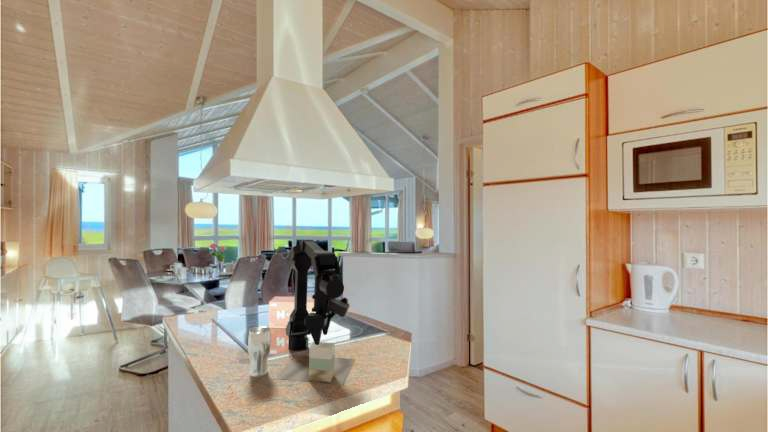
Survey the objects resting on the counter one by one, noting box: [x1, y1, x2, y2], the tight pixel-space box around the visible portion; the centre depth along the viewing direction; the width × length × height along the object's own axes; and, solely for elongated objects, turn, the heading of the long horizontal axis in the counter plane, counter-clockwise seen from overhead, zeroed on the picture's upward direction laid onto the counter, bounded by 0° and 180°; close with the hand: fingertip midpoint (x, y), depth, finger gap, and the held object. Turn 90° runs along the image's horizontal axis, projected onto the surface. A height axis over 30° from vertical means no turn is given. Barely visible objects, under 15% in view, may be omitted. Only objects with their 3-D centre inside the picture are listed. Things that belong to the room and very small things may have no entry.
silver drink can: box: [247, 326, 272, 378], centre depth 116 cm, size 7×7×15 cm
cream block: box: [308, 341, 336, 360], centre depth 113 cm, size 7×4×4 cm, turn 84°
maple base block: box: [309, 366, 334, 382], centre depth 113 cm, size 7×4×4 cm, turn 84°
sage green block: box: [309, 353, 336, 371], centre depth 113 cm, size 7×4×4 cm, turn 84°
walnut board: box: [274, 354, 356, 386], centre depth 120 cm, size 22×20×1 cm
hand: (321, 339), depth 115 cm, fingers open, 9 cm apart
